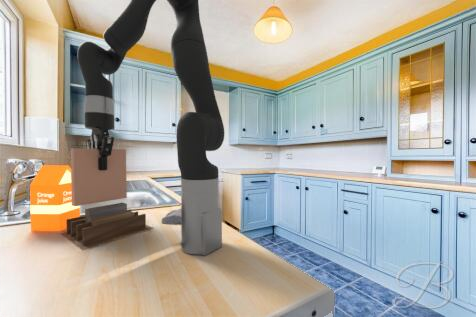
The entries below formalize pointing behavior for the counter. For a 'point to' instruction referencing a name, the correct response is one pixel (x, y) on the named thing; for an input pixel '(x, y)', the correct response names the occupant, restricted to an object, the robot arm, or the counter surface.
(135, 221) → the rack
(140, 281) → the counter surface
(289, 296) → the counter surface
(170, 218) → the stone block
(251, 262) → the counter surface
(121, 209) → the bar
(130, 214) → the offcut front
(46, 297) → the counter surface
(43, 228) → the orange juice
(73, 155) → the tall sheet
